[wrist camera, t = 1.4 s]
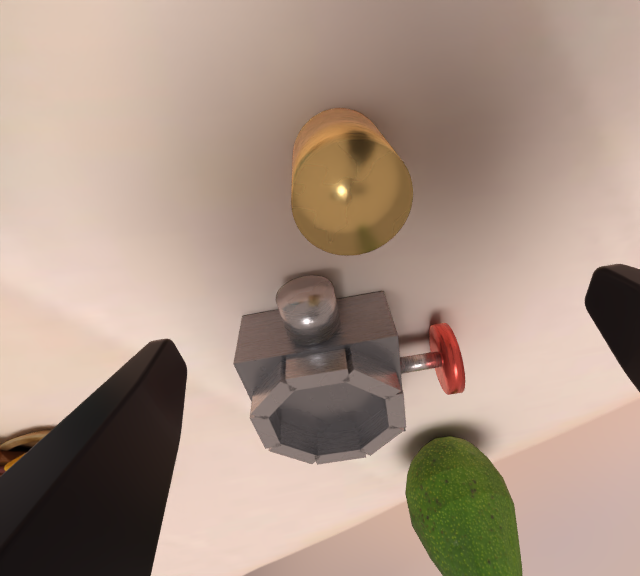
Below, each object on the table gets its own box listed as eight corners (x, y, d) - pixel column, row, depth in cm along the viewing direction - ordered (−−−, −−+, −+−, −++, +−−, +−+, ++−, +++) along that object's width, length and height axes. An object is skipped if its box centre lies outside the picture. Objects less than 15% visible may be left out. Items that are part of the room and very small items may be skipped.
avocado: (474, 407, 30) (558, 589, 20) (488, 452, 34) (563, 620, 25) (382, 433, 32) (420, 614, 22) (407, 473, 36) (448, 639, 26)
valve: (442, 246, 21) (482, 307, 16) (439, 395, 29) (465, 462, 24) (229, 285, 22) (212, 353, 17) (285, 419, 30) (283, 489, 25)
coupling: (379, 98, 16) (410, 126, 12) (386, 192, 19) (414, 244, 14) (282, 119, 16) (277, 154, 12) (303, 208, 19) (305, 264, 15)
